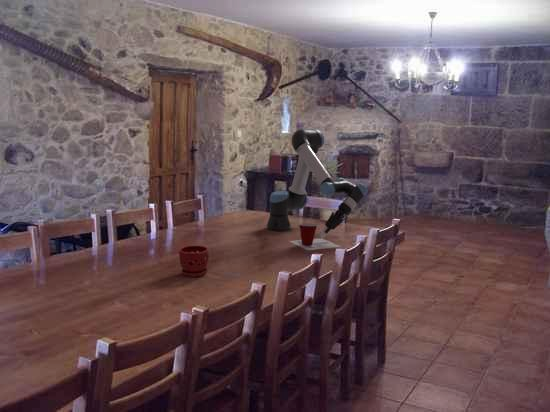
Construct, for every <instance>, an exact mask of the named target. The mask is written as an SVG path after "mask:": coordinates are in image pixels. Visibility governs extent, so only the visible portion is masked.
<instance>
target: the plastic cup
mask: <svg viewBox="0 0 550 412" xmlns="http://www.w3.org/2000/svg"><path fill="white" fill-rule="evenodd" d="M298 226H299V230H300V231H299V232H300V240H302V245H312V244H313V239H315V235H316V231H317V227H318V224H317V223H313V222H312V223H311V222H299V223H298Z"/></svg>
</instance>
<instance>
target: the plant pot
mask: <svg viewBox="0 0 550 412" xmlns="http://www.w3.org/2000/svg"><path fill="white" fill-rule="evenodd" d="M178 253H179V255H178V256H179V263H180V266H181V268H182V269H181V273H182V274H183V276H186V277H189V278H190V277H192V278H193V277H195V278H196V277H202V276H205V274H207V273H208V268H207V267H208V264H209V258H210V256H209V255H210V252H209V247H207V246H204V245H185V246H182V247H181V248H179V251H178Z"/></svg>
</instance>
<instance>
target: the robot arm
mask: <svg viewBox="0 0 550 412" xmlns="http://www.w3.org/2000/svg"><path fill="white" fill-rule="evenodd" d="M290 142H291V145H292V148H293V149H294V152H295V153H296V154H297V155H299V158H298V161H297V164H296V169H295V171H294V172H295V173H294V176H293V180H292V184H291V186H289V187H288V190H278V191H273V192H271V194H270V196H269V218H268V219H267V222H266V223H267V224H266V229H267V230H269V231H273V232H274V231H276V232H285V231H290V230H291V222H290V218H289V212H291V211H300V210H302V209H304V208H305V207H306V206H307V204H308V201H309V200H308V195H307V191H306V186H307V183H308V179H309V176H310V172H311V173H312V175H313V177H315V179H316V180H317V181H318V183H319V184H320V187H319V189H320V192H321V194H322V195H323V196H334V195H342V194H343V195H346V197H345V198H344V199H343V200H342V202H341V203H340V204H339V205H338V207H337V210H335V212H334V211H331V214H330V216H329V217H328V219H327V220H326V222H325V223H324V225H325V227H324V228H323V229H322V230H321V231H320V233H319V234H318V235H319V237H320V238H322V239H325V237H326V235H327V234H329V232H331V230H333V231H334V230H336V229H337V227H338V226H340V225H341V224H342V223H343V222H344V221H346V220H347V217H346V216H349V215H350V214H351V212H352V211H353V210H354V209H355V208H356V206H358V205H359V203H360V202H361V201H362V200H363V199H364V198H365V196H366V195H367V194H368V192H369V189H368V188H367V186H366V185H365V184H363V183H360V182H359V183H357V184H354V183H352V182H350V181H349V180H348V179H346V178H343V177H339V178H338V179H336V180H334V179H333V178H332V176H331V175H330V174H329V172H328V170H327V168H325V166H324V165H323V163H322V162H321V161H320V159H319V158H318V157H317V155H316V154H318V152H319V149H321V148H322V147H323V146H324V144H325V137H324V134H323V132H322V131H321V130H319V129H314V128H312V129H307V128H306V129H304V128H302V129H298V130H296V131H295V132H294V133H293V134H292V135H291V141H290Z"/></svg>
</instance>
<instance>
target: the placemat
mask: <svg viewBox="0 0 550 412" xmlns="http://www.w3.org/2000/svg"><path fill="white" fill-rule="evenodd" d="M288 242H289V243H290V244H293V245H295V246H297V247H299V248H301V249H304V250H306V251H312V250H313V251H314V250H324V249H325V250H326V249H335V248H342V246H341V245H338V244H336V243H333V242H331V241H329V240H326V239H325V238H321V237H320V238H314V239H313V244H312V245H302V240H301V239H299V240H298V239H297V240H288Z"/></svg>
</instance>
